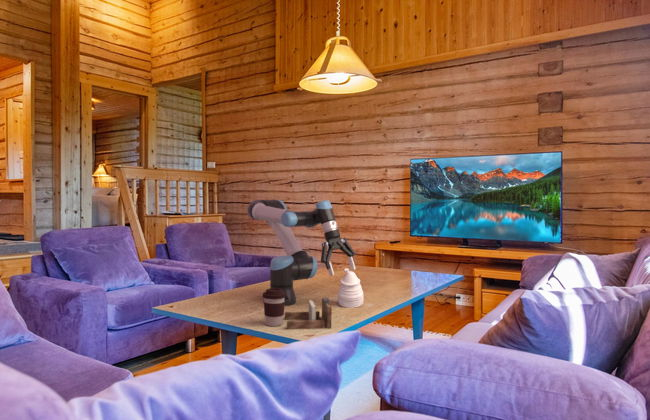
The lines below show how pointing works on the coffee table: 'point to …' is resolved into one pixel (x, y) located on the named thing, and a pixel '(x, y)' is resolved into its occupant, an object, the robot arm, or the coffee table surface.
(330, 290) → the coffee table surface
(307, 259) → the robot arm
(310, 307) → the catch plate
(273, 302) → the coffee cup
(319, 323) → the dock
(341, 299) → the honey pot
